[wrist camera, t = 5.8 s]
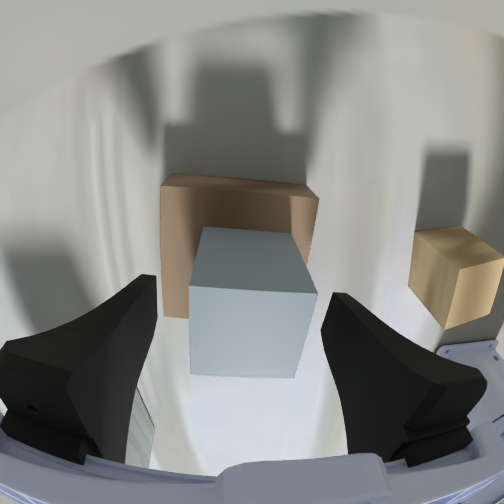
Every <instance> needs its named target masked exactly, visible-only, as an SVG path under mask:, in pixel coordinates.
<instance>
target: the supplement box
mask: <svg viewBox="0 0 504 504" xmlns="http://www.w3.org/2000/svg"><path fill="white" fill-rule="evenodd" d="M154 433H155V428H154V426H153V424H152V422H151V420H150V418H149V415H148V413H147V411H146V409H145V406H144V404H143V402H142V400H141V397H140V395H139V392H138V390H137V388H136V391H135V396H134V401H133V406H132V412H131V418H130V424H129V431H128V439H127V448H126V459H125V464H127V465H132V466H137V467H142V468H147V469H149V463H150V456H151V450H152V445H153V439H154Z"/></svg>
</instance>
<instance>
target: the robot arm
mask: <svg viewBox="0 0 504 504" xmlns="http://www.w3.org/2000/svg"><path fill="white" fill-rule="evenodd" d="M157 317H158V316H157V284H156V276H154V275H146V274H141V275H140V276H138V277H137V278H136V279H135V280H133V281H132V282H131V283H129V284H128V285H127V286H126V287H124V288H123V289H122V290H120V291H119V292H118V293H117V294H115V295H114V296H113V297H111V298H110V299H108V300H107V301H105V302H104V303H102V304H101V305H99V306H98V307H96V308H95V309H93V310H92V311H90V312H88V313H86V314H84V315H83V316H81V317H79V318H77V319H75V320H73V321H71V322H68V323H66V324H64V325H61V326H59V327H57V328H54V329H51V330H49V331H46V332H43V333H39V334H36V335H33V336H29V337H24V338H20V339H15V340H10V341H6V343H5V344H4V345H3V347H2V348H1V350H0V398H1V400H2V401H3V403H4V404H5V406H6V407H7V409H8V410H7V412H6V414H5V416H4V415H3V414H1V413H0V493H1V494H2V495H4V496H6V497H8V498H9V499H11V500H13V501H15V502H17V503H19V504H495V503H497V502H498V501H500V500H501V499H503V498H504V360H503V359H502V357H501V356H500V355H499V354H498V352H497V351H496V350H495V348H496V347H497V345H498V340H488V341H481V342H473V343H464V344H455V345H444V346H441V347H440V348H439V349H438V351H437V352H436V354H435V353H433V352H430V351H428V350H426V349H424V348H422V347H421V346H419V345H417V344H415V343H414V342H412V341H410V340H409V339H407V338H405V337H404V336H402V335H401V334H399V333H398V332H396V331H395V330H394V329H392V328H391V327H389V326H388V325H387V324H385V323H384V322H383V321H381V320H380V319H379V318H378V317H376V316H375V315H374V314H373V313H371V312H370V311H369V310H368V309H366V308H365V307H364V306H363V305H362V304H360V303H359V302H358V301H357V300H355V299H354V298H353V297H351V296H350V295H348V294H347V293H337V292H333V294H332V297H331V300H330V303H329V306H328V310H327V313H326V316H325V319H324V322H323V325H322V328H321V336H322V342H323V347H324V351H325V354H326V357H327V360H328V363H329V366H330V369H331V372H332V375H333V378H334V381H335V384H336V387H337V390H338V393H339V397H340V401H341V406H342V411H343V416H344V423H345V429H346V436H347V447H348V455H342V456H334V457H325V458H315V459H302V460H282V461H260V462H249V463H242V464H239V465H235V466H232V467H228V468H226V469H225V470H224V471H223V472H222V473H221V474H220V475H219V476H217V477H215V476H202V475H191V474H182V473H174V472H166V471H160V470H153V469H147V468H142V467H137V466H132V465H127V464H125V459H126V448H127V439H128V431H129V424H130V418H131V412H132V406H133V401H134V396H135V391H136V386H137V383H138V379H139V376H140V373H141V370H142V368H143V365H144V362H145V359H146V356H147V353H148V351H149V348H150V345H151V342H152V339H153V336H154V331H155V327H156V322H157ZM500 504H504V501H503V502H501V503H500Z"/></svg>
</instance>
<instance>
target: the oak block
mask: <svg viewBox="0 0 504 504" xmlns="http://www.w3.org/2000/svg"><path fill="white" fill-rule="evenodd" d="M503 267H504V256H503V255H502V254H500V253H499V252H497V251H496V250H495V249H493V248H492V247H491V246H489V245H488V244H486V243H485V242H483V241H482V240H481V239H479V238H478V237H476V236H475V235H473V234H472V233H470V232H469V231H467V230H466V229H464V228H463V227H461V226H460V225H459V226H452V227H445V228H438V229H431V230H424V231H417V232H414V241H413V250H412V259H411V267H410V274H409V281H408V287H409V288H410V289H411V290H412V291H413V293H414V294H415V295H416V296H417V297H418V299H419V300H420V301H421V302H422V303H423V305H424V306H425V307H426V308H427V309H428V311H429V312H430V313H431V314H432V316H433V317H434V318H435V319H436V321H437V322H438V323H439V324H440V326H441V327H442V328H443V329H444V330H446V329H449V328H452V327H455V326H458V325H461V324H464V323H467V322H469V321H472V320H475V319H478V318H480V317H483V316H486V315H488V314H490V311H491V308H492V305H493V302H494V299H495V295H496V292H497V289H498V285H499V282H500V278H501V275H502V271H503Z"/></svg>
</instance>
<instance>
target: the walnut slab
mask: <svg viewBox="0 0 504 504" xmlns="http://www.w3.org/2000/svg"><path fill="white" fill-rule="evenodd" d="M318 203H319V198H318V197H317V196H316V195H315V194H314V193H313V192H312V191H311V190H310V188H309V187H308V186H307V185H300V184H292V183H282V182H273V181H263V180H252V179H241V178H228V177H214V176H198V175H180V174H172V175H171V176H170V177H169V178H168V179H167V180H166V181H165V182H164V183H163V184H162V185H161V186H160V246H161V275H162V295H163V310H164V316H165V317H175V318H187V319H189V283H190V279H191V275H192V271H193V266H194V262H195V258H196V254H197V250H198V246H199V242H200V238H201V234H202V231H203V227H217V228H230V229H243V230H255V231H267V232H279V233H290V234H292V236H293V238H294V240H295V242H296V244H297V247H298V249H299V251H300V253H301V256H302V258H303V260H304V263H305V265H306V266H307V261H308V256H309V251H310V246H311V241H312V236H313V230H314V225H315V220H316V214H317V209H318Z"/></svg>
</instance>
